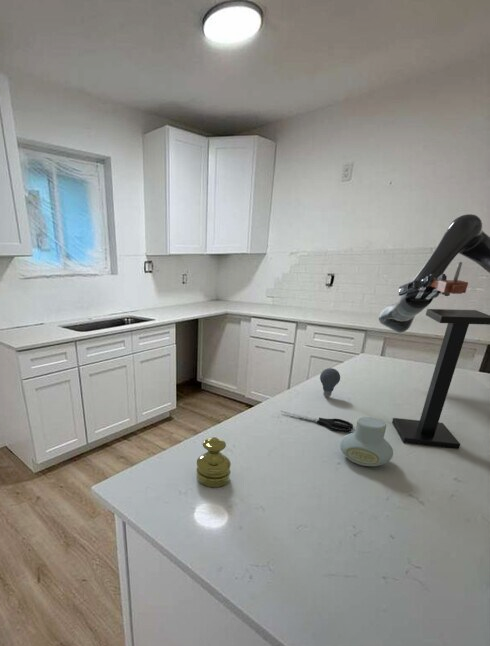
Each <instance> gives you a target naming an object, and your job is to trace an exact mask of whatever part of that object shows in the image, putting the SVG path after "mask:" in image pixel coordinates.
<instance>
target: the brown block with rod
mask: <svg viewBox="0 0 490 646" xmlns="http://www.w3.org/2000/svg"><path fill="white" fill-rule="evenodd" d="M462 267H463V262H462V261H459V262H457V266H456V269H455V273H454V276H453V280H452V279H450V280H449V279H448V280H447V279H446V280H441V279H437V278H434V280H433V282H432V283H431V284H430V285H429V286H431V287H434V288H437V291H440V292H443V293H450V294H453V295H461V294H466V292H467V289H468V286H469V282H468V281H463V280H459V277H460V273H461V270H462Z"/></svg>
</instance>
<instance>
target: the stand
mask: <svg viewBox="0 0 490 646" xmlns="http://www.w3.org/2000/svg"><path fill="white" fill-rule="evenodd" d="M425 316H426V317H428V318H430V319H432V320H434V321H435V322H437V323H438V324H447V326H446V328H445V332H444V336H443V339H442V342H441V346H440V349H439V352H438V356H437V360H436V363H435V366H434V370H433V373H432V377H431V381H430V384H429V387H428V390H427V394H426V397H425V401H424V404H423V407H422V411H421V414H420V415H421V416H420V418H419V420H416V419H409V418H399V417H398V418H397V417H393V418H392V421H391V423H392V425H393V427H394V429H395V431H396V432H397V435H398V436H399V437H400V439H401V441H402V443H403V444H410V445H416V446H417V445H419V446H427V447H434V448H435V447H436V448H443V449H454V450H459V449H460V447H461V442H460V441H459V440H458V439H457V438H456V437H455V436H454V434H453V433H452V432H451V431H450V430H449V429H448V427H447V426H446V424H445V423H444V422H440V418H441V415H442V412H443V408H444V405H445V402H446V399H447V396H448V392H449V389H450V386H451V383H452V380H453V376H454V374H455V370H456V368H457V364H458V361H459V358H460V356H461V355H460V354H461V351H462V348H463V345H464V341H465V338H466V335H467V332H468V329H469V326H470V325H485V326H487V325H489V326H490V314H487V313H485V312H482V311H479V310H477V309H451V308H450V309H449V308H446V309H445V308H426V312H425Z"/></svg>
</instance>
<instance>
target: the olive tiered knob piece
mask: <svg viewBox="0 0 490 646" xmlns="http://www.w3.org/2000/svg"><path fill="white" fill-rule="evenodd" d="M202 447H203V448H204V450H206V452H205V453H203V454H201V455H199V456H198V458H197V459H196V466H197V467H196V479H197V481H198V482H199V483H200V484H201V485H203V486H205V487H209V488H221V487H224V486H225V485H227V484H228V483H229V482H230V475H231V465H232V464H231V463H232V462H231V460H230V458H229V457H228V456H226V455H225V454H223V453H222V451H223V450H225V449H226V447H227V443H226V442H225V440H223V439H222V438H219V437H217V436H216V437H208V438H206V439H204V440H203V442H202Z"/></svg>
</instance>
